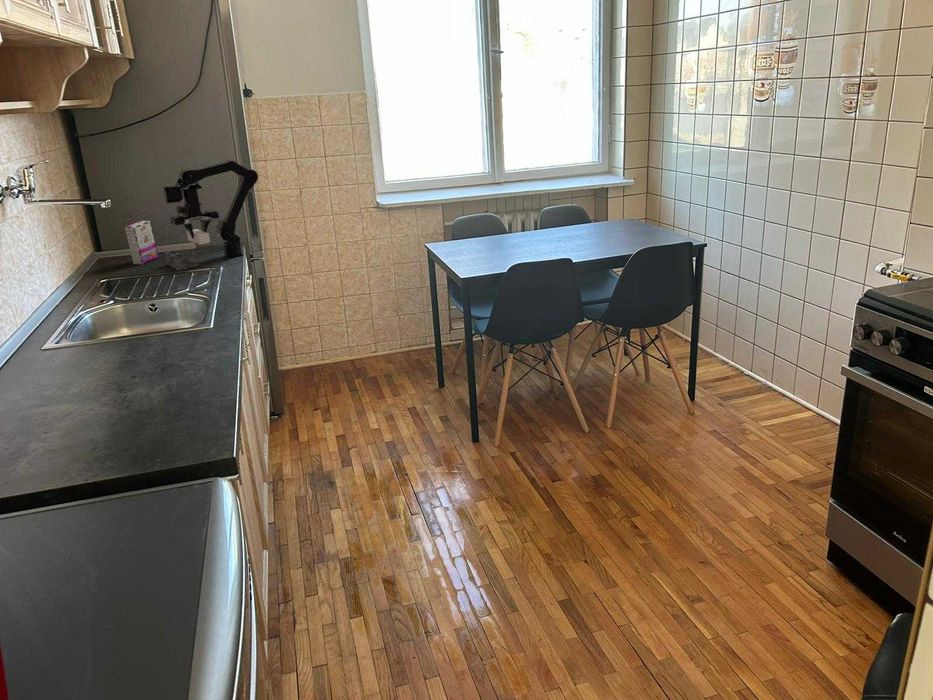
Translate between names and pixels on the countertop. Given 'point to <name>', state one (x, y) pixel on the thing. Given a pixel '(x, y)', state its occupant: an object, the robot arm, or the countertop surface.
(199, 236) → the clay block
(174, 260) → the dark grey angular piece
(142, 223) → the candy bar box
